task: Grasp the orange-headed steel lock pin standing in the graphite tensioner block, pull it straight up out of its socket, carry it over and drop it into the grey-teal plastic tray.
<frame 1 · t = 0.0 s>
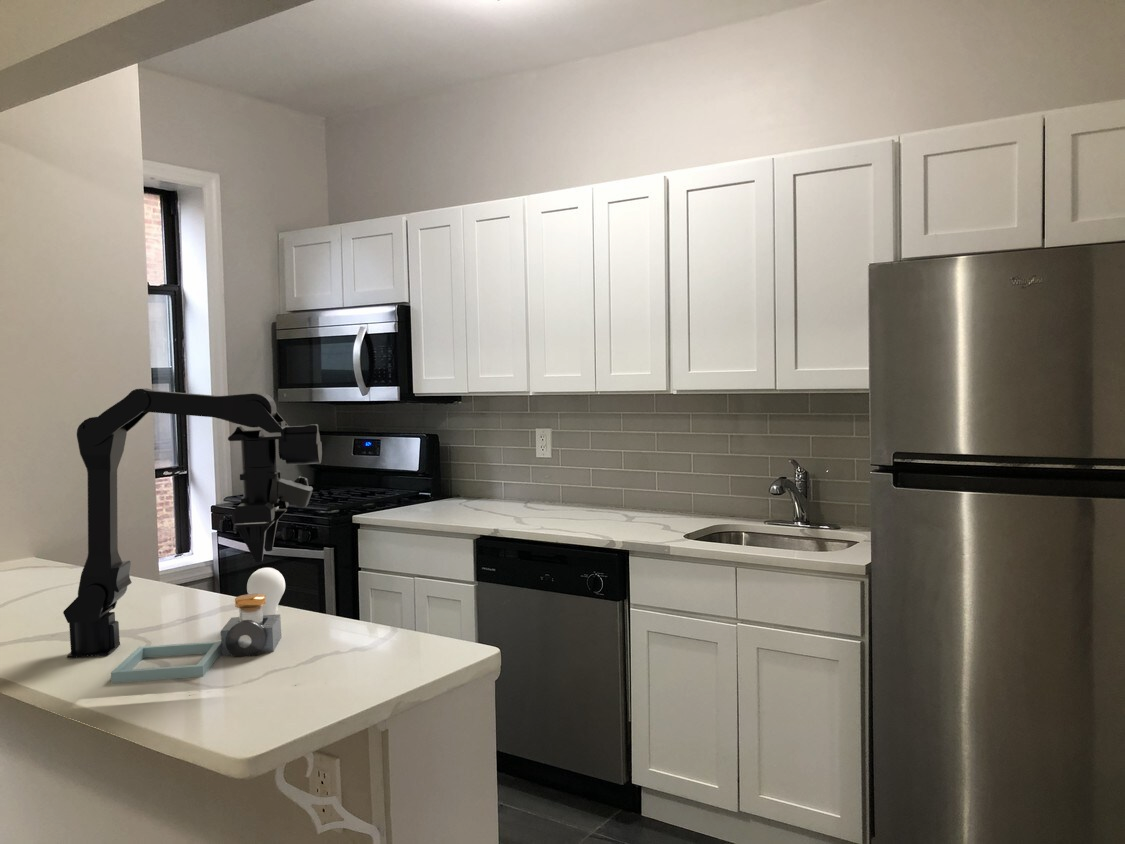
hand: (264, 556, 156), 15 cm above the worktop, fingers open, 9 cm apart
light bulb: (268, 628, 165), on the worktop
tray: (170, 671, 141), on the worktop
tensioner block: (252, 652, 150), on the worktop
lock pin: (252, 646, 150), point 1 cm above the worktop, touching tensioner block
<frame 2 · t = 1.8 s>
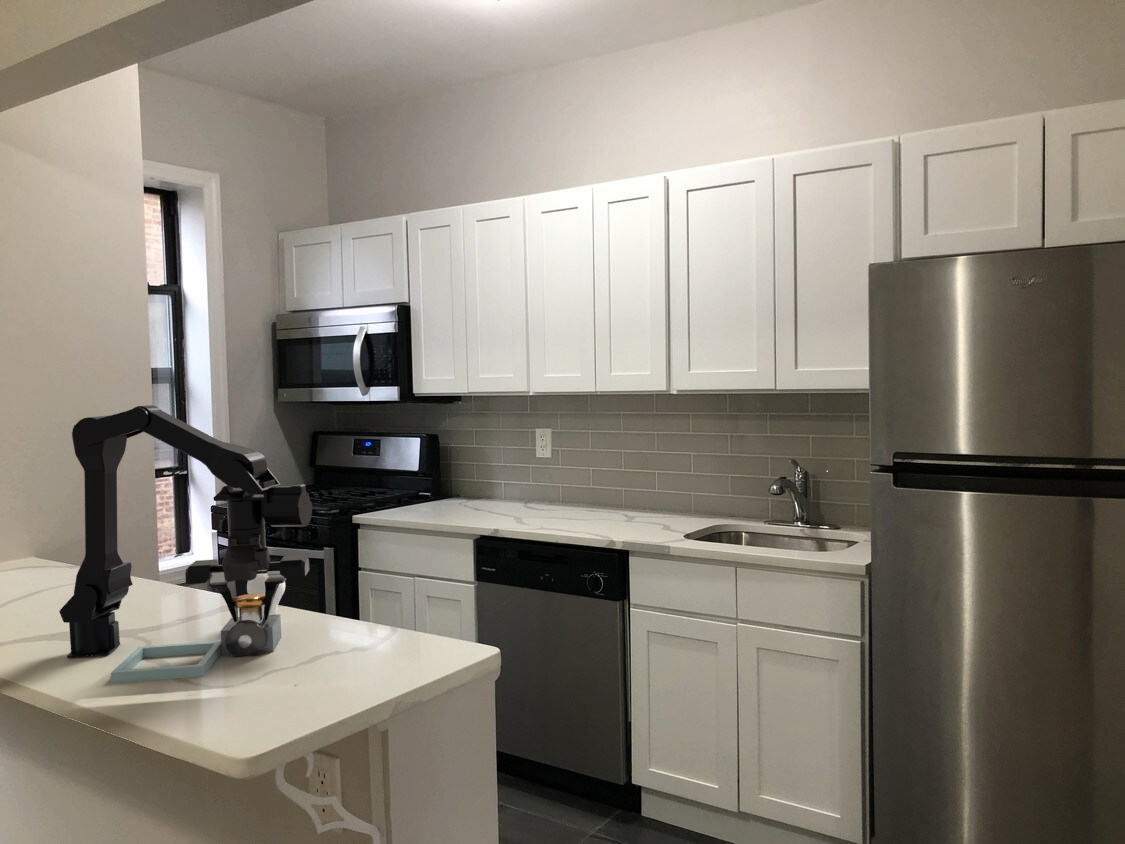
hand: (251, 620, 150), 5 cm above the worktop, fingers closed on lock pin, 4 cm apart
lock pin: (252, 646, 150), point 1 cm above the worktop, touching gripper, tensioner block
everything else where it was.
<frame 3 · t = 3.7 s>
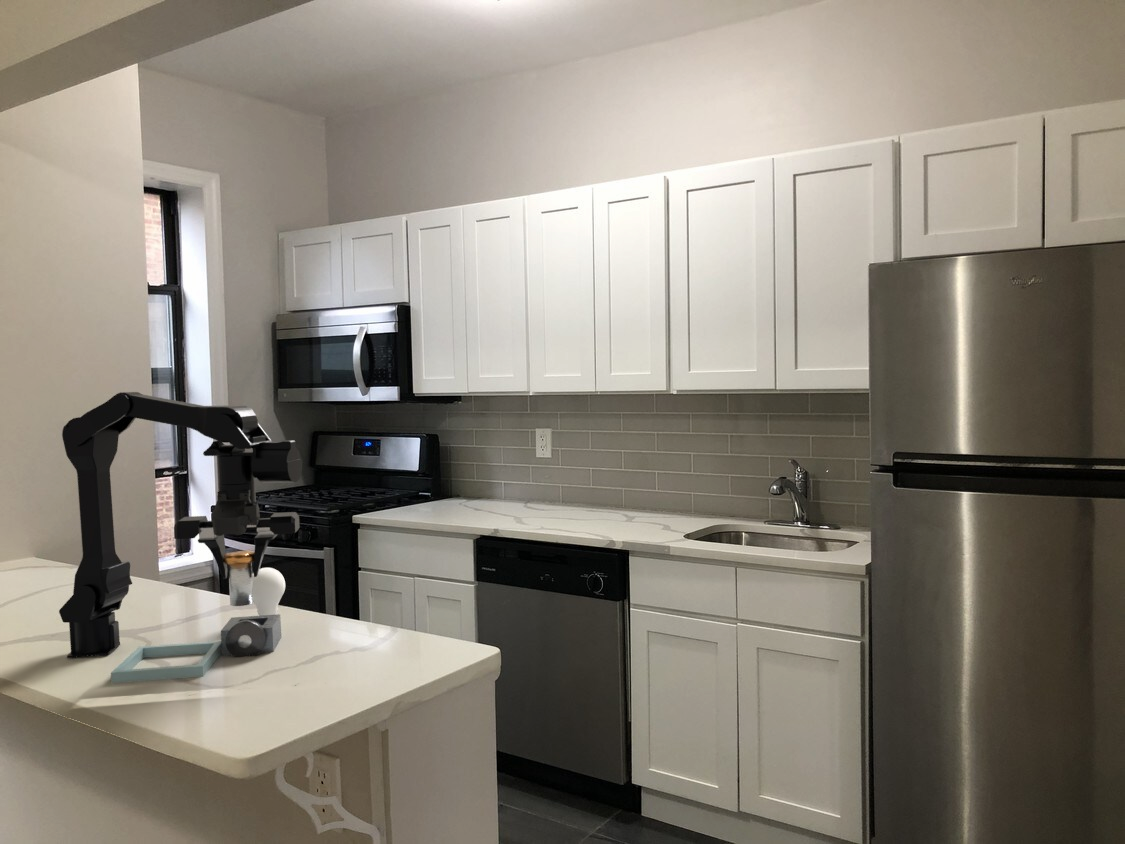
hand: (240, 577, 149), 13 cm above the worktop, fingers closed on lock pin, 4 cm apart
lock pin: (241, 603, 149), point 8 cm above the worktop, touching gripper
everything else where it was.
when the fingers open (7 cm above the worktop, at t = 5.6 s): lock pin drops 2 cm, resting on tray.
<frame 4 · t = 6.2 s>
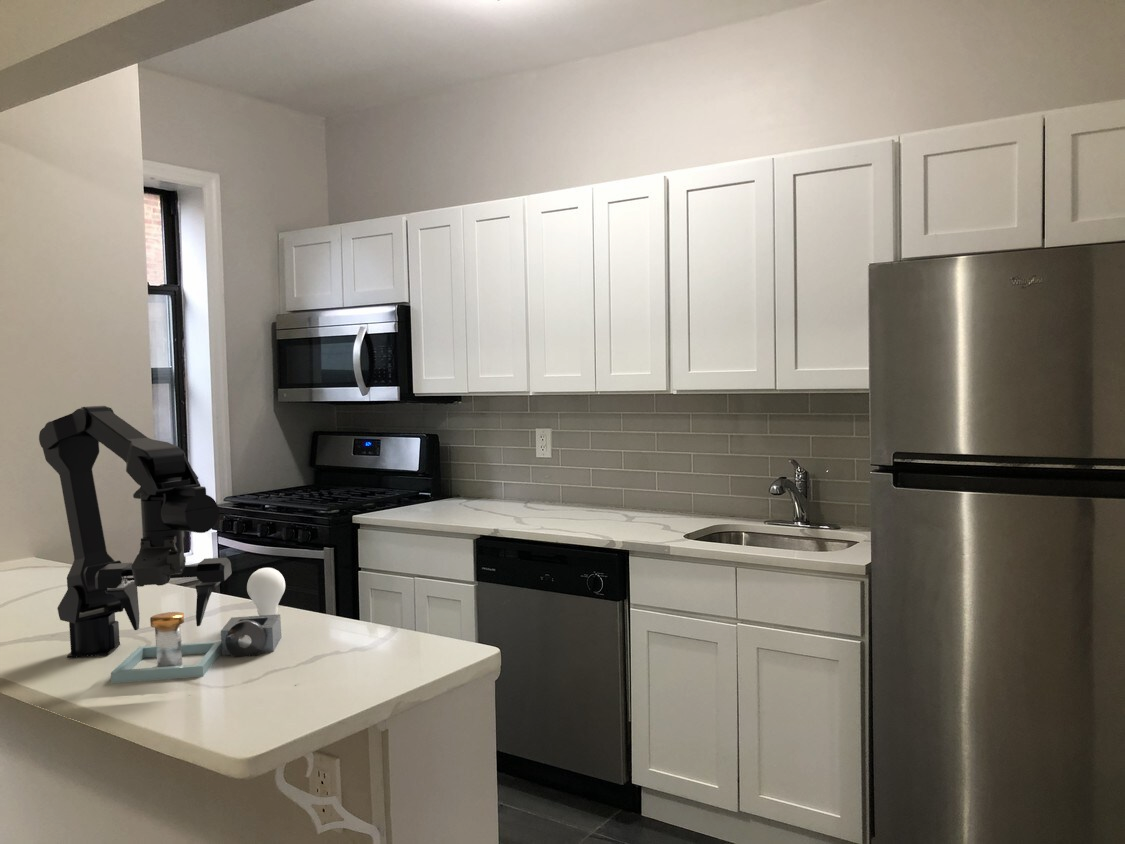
hand: (167, 627, 141), 7 cm above the worktop, fingers open, 9 cm apart
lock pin: (170, 667, 141), point 1 cm above the worktop, touching tray
everything else where it was.
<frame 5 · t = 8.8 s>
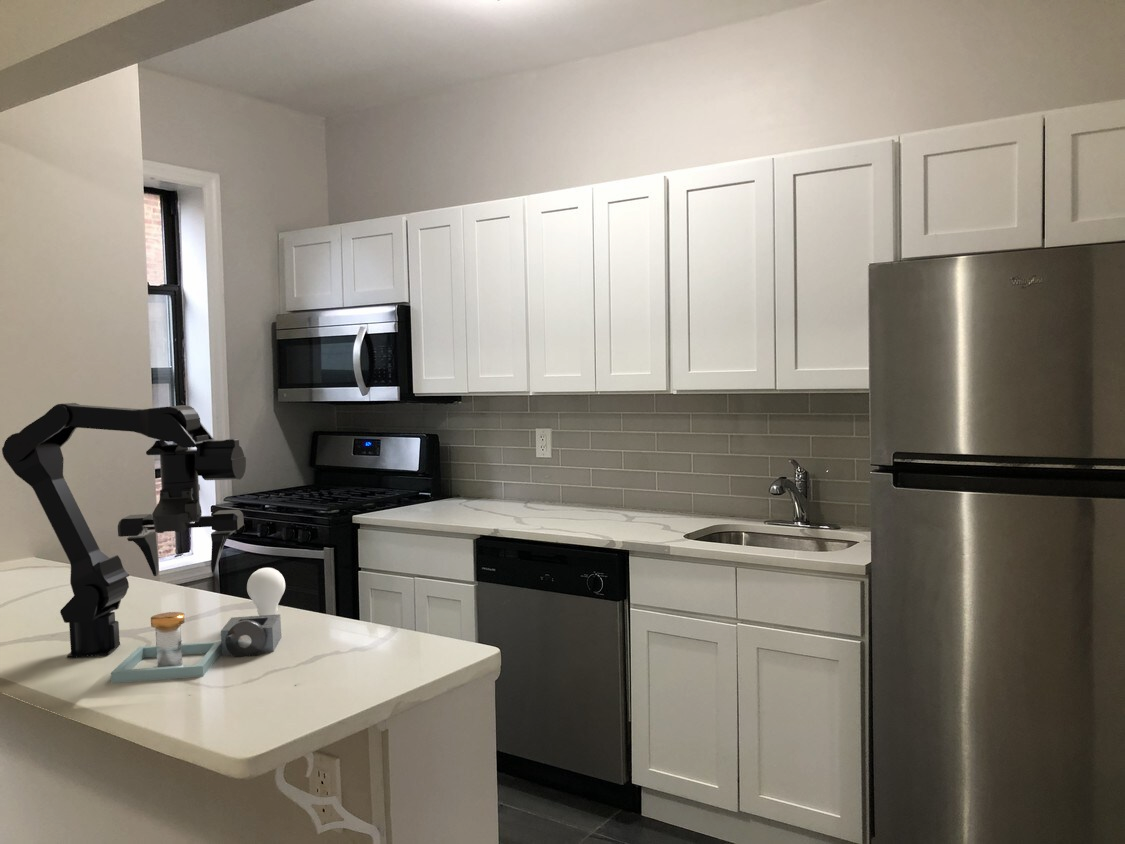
hand: (185, 574, 152), 13 cm above the worktop, fingers open, 9 cm apart
nothing on the worktop moved.
at the end: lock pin inside the target area on the tray (0.0 cm from its centre), point 0.6 cm above the tray's base; the gripper is holding nothing; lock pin moved 13.3 cm from its start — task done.
